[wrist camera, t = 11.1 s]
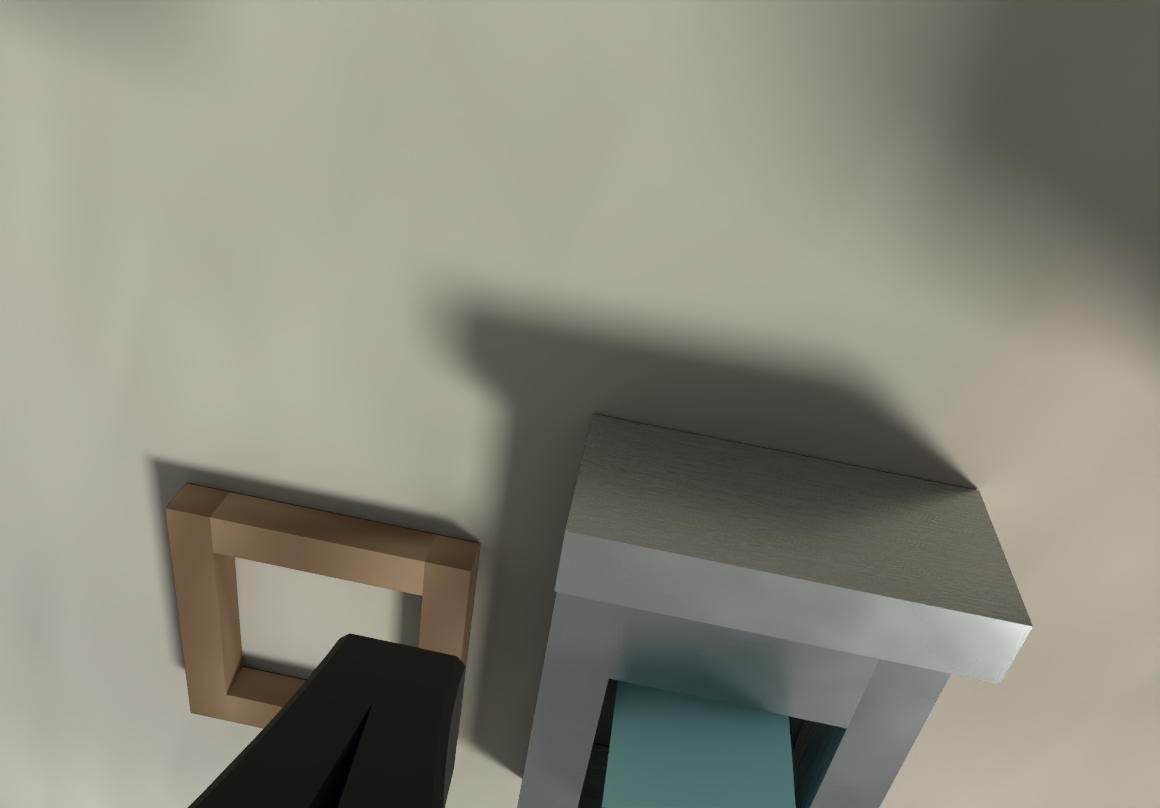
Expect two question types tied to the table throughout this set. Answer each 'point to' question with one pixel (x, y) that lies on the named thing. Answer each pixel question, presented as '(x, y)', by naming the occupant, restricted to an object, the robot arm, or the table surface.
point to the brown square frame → (307, 543)
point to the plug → (695, 753)
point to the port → (766, 605)
